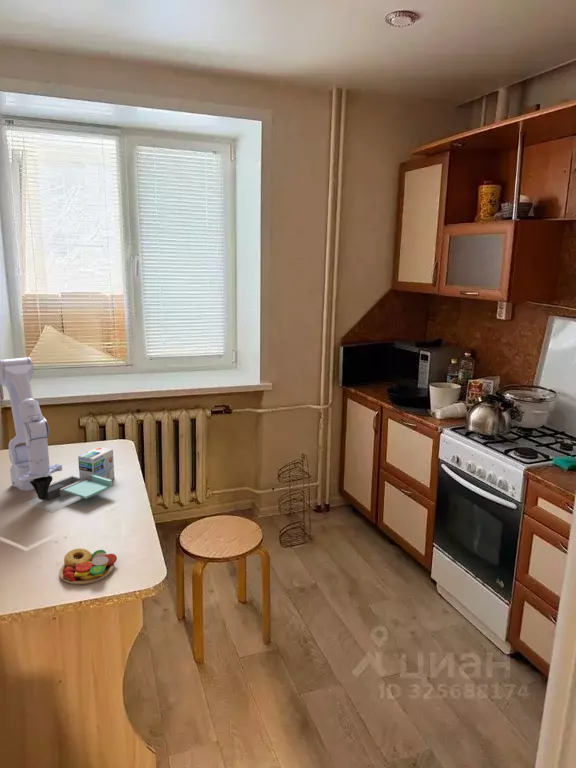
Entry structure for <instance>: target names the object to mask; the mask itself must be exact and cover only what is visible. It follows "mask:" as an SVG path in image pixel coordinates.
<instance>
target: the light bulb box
mask: <svg viewBox="0 0 576 768" xmlns="http://www.w3.org/2000/svg"><path fill="white" fill-rule="evenodd" d="M77 457H78V458H77V460H78V472H79V473H78V475H79V478H82V479H85V480H87V475H88V474H93V475H96V476H100V477H103V478H106V479H110V480H113V479H115V465H114V450H113V448H112V449H111V448H106V447H101V446H97V447H95V448H93V449H91V450H89V451H87V452H85V453H82V454H80V455H78V456H77Z"/></svg>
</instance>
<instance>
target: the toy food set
mask: <svg viewBox="0 0 576 768" xmlns="http://www.w3.org/2000/svg"><path fill="white" fill-rule="evenodd" d="M117 560H118V557H117V555H116V554H115V553H107V552H106V551H105V549H98V550H96V551H94V552H93V553H91V551H90V550H88V549H85V548H75V549H72V550H69V551H68V552H67V553H66V554H65V555H64V558H63V562H64V563H63V565H62V566H61V567H60V568H59V572H58V574H59V578H60V579H62V581H64V582H66V583H69V584H71V585H76V586H78V585H81V586H82V585H89V584H93V583H96V582H98V581H100V580H103V579H104V578H106V577H107V576H108V575H109V574H110V573H111V572H112V571H113V569H114V567H115V563H116V562H117Z"/></svg>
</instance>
